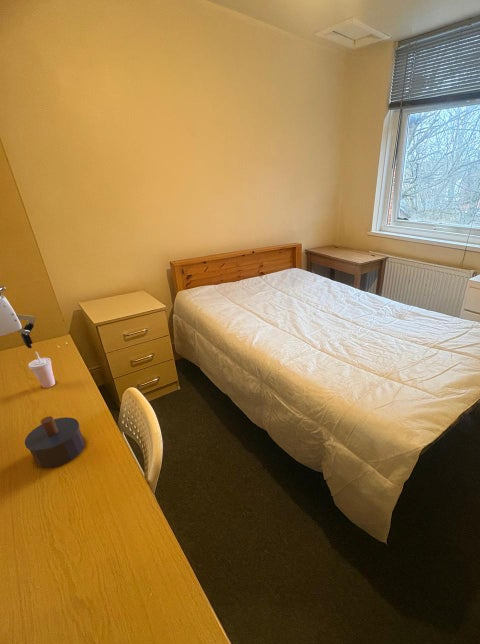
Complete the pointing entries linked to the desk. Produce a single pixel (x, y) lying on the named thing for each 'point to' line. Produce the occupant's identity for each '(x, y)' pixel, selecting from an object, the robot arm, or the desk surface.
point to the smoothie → (43, 371)
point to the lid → (51, 433)
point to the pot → (60, 452)
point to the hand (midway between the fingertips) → (8, 353)
